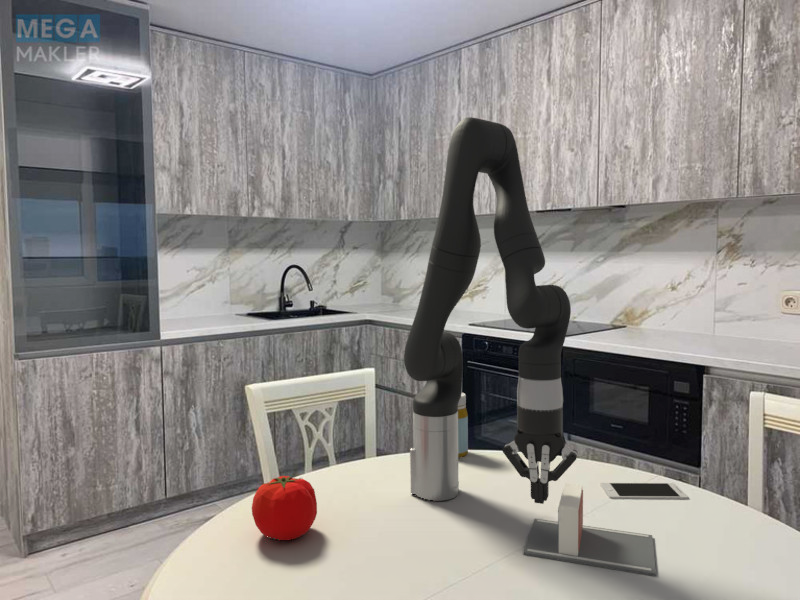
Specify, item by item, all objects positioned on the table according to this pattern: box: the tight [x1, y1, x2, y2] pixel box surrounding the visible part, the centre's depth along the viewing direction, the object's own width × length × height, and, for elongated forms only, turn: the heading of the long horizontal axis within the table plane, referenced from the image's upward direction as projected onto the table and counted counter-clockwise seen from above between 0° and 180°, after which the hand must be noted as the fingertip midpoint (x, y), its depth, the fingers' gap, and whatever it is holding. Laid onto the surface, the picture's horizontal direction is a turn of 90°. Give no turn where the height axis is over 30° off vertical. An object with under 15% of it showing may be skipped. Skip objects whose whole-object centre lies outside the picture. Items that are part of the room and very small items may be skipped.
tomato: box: [251, 475, 318, 541], centre depth 105 cm, size 12×12×10 cm
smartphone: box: [599, 482, 689, 500], centre depth 122 cm, size 7×15×1 cm, turn 87°
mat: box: [522, 518, 657, 577], centre depth 100 cm, size 20×13×1 cm, turn 69°
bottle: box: [458, 392, 469, 459], centre depth 146 cm, size 7×7×15 cm
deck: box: [557, 482, 584, 556], centre depth 100 cm, size 3×10×8 cm, turn 159°
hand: (539, 501), depth 102 cm, fingers closed
